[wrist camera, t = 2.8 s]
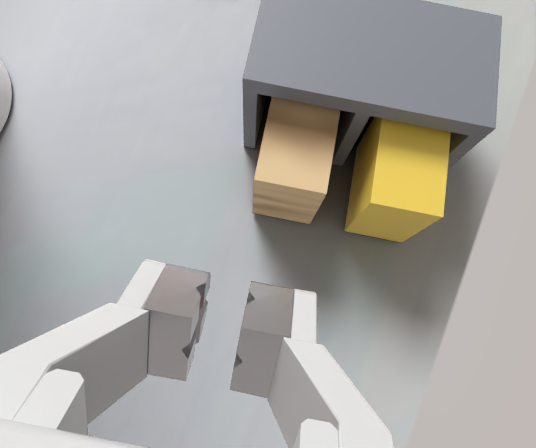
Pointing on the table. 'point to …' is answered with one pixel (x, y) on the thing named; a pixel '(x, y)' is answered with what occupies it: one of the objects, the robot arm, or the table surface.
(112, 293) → the table surface
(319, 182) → the light wood block
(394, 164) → the yellow rectangular block
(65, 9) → the table surface
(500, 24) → the grey slotted holder
